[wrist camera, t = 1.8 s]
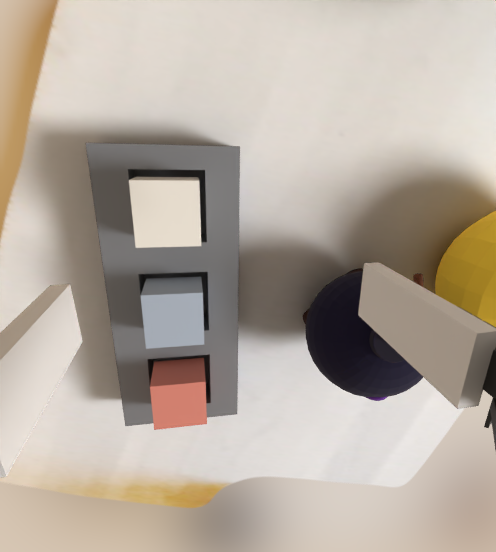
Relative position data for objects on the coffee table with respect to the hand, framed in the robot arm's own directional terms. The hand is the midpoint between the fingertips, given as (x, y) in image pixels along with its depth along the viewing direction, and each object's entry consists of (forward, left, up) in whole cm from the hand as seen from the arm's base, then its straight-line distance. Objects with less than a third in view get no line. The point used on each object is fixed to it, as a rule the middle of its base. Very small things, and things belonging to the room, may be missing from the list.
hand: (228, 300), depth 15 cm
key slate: (+7, -3, -16) cm, 18 cm away
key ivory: (-2, -3, -16) cm, 16 cm away
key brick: (+16, -3, -16) cm, 23 cm away
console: (+7, -3, -20) cm, 21 cm away
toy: (+9, +15, -20) cm, 26 cm away
